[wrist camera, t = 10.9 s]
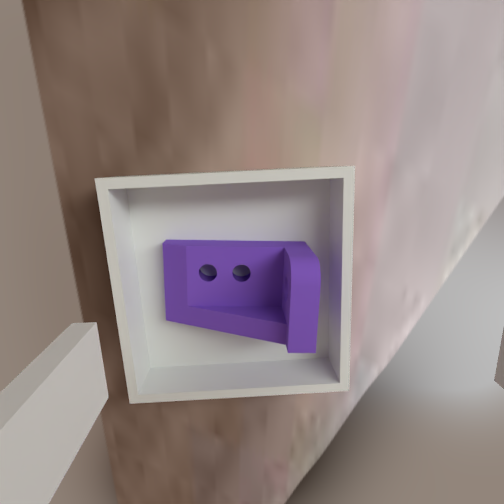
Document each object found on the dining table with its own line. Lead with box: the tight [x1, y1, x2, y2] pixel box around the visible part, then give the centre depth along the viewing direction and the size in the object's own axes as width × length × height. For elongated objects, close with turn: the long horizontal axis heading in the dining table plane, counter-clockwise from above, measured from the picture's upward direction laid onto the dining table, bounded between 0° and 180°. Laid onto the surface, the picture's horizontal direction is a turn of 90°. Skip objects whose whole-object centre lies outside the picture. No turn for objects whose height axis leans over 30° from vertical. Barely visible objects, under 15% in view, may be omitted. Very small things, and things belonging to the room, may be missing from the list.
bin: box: [95, 166, 355, 404], centre depth 29 cm, size 19×19×5 cm
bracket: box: [162, 239, 321, 353], centre depth 27 cm, size 12×7×7 cm, turn 89°
